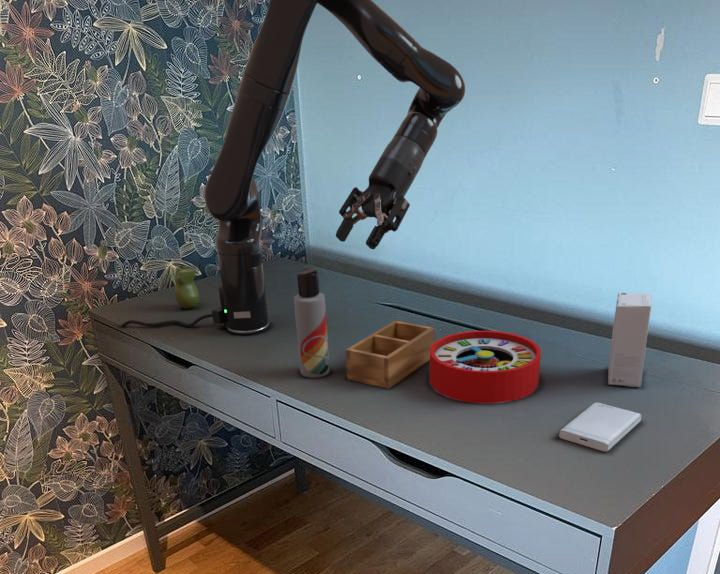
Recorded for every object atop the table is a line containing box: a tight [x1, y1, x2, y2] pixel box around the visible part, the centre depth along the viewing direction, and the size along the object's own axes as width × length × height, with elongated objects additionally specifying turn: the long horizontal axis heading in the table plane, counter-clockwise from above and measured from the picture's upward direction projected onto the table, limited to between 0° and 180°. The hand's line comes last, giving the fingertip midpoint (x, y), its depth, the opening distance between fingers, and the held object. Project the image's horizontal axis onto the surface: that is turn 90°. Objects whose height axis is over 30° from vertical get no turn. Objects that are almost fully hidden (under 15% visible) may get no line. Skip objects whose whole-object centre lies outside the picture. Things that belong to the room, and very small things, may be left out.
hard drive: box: [558, 402, 642, 453], centre depth 124 cm, size 2×8×12 cm
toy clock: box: [428, 330, 542, 405], centre depth 142 cm, size 20×6×20 cm
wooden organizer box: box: [345, 320, 436, 390], centre depth 148 cm, size 9×18×6 cm, turn 147°
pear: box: [174, 265, 200, 310], centre depth 183 cm, size 6×5×10 cm
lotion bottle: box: [293, 268, 330, 379], centre depth 144 cm, size 6×6×20 cm
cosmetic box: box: [607, 292, 653, 388], centre depth 138 cm, size 8×6×15 cm
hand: (354, 242), depth 144 cm, fingers open, 8 cm apart
